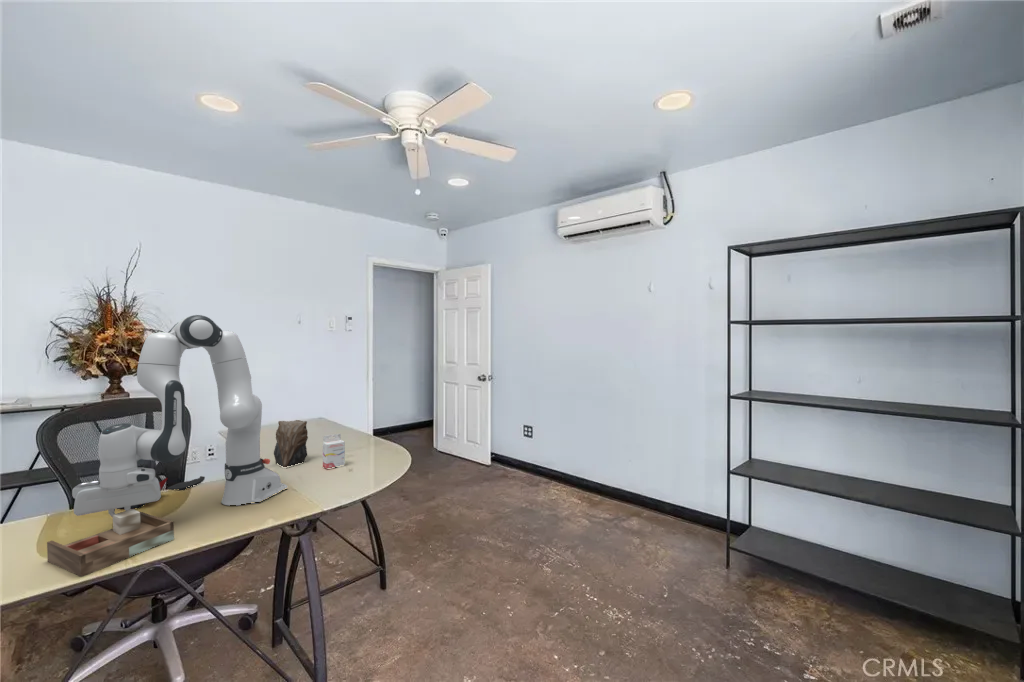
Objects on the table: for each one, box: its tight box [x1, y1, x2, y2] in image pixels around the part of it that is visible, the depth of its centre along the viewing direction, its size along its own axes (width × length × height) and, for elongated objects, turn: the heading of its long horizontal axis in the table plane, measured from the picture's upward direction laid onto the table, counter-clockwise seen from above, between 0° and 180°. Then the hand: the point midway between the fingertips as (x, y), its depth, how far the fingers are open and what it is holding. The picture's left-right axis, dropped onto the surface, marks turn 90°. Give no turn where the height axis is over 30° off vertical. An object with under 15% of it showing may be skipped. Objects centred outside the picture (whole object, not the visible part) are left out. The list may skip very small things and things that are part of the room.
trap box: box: [46, 511, 175, 578], centre depth 130 cm, size 22×18×6 cm
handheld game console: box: [116, 477, 169, 510], centre depth 164 cm, size 12×11×7 cm
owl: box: [273, 419, 309, 467], centre depth 210 cm, size 13×13×20 cm
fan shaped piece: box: [167, 475, 206, 491], centre depth 183 cm, size 8×14×2 cm, turn 164°
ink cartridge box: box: [322, 433, 346, 470], centre depth 205 cm, size 9×5×15 cm, turn 133°
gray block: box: [112, 509, 141, 535], centre depth 136 cm, size 5×5×5 cm
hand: (120, 521), depth 138 cm, fingers closed
